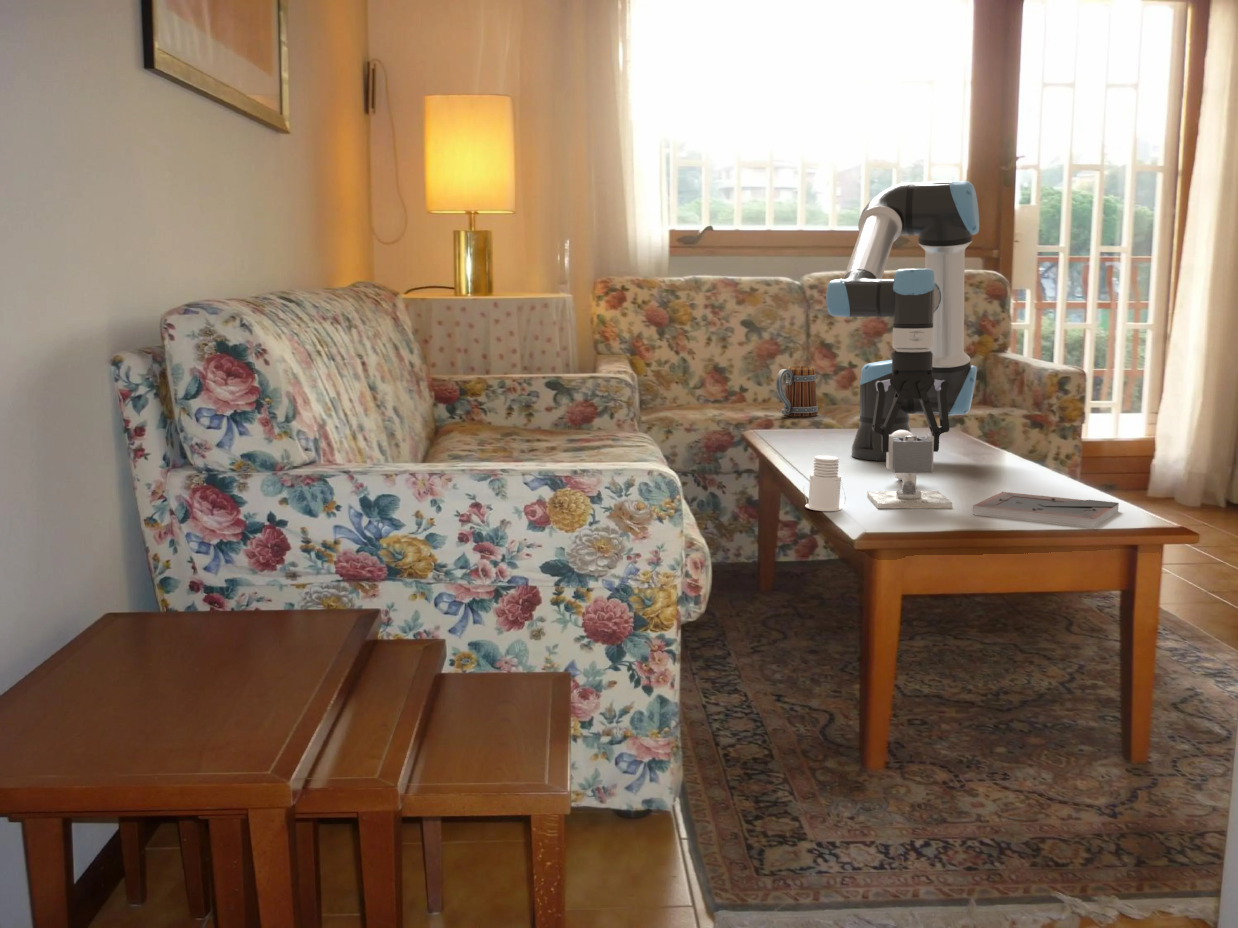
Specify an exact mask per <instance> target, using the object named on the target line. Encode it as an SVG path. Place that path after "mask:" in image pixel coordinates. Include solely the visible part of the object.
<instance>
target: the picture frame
mask: <svg viewBox="0 0 1238 928" xmlns="http://www.w3.org/2000/svg"><path fill="white" fill-rule="evenodd" d="M971 511H972V512H971V515H973V514H975V515H976V516H983V517H992V518H993V517H994V518H999V519H1000V518H1001V519H1011V520H1017V521H1018V520H1019V521H1027V522H1036V523H1043V524H1044V523H1045V524H1046V523H1047V524H1051V525H1052V524H1053V525H1062V526H1071V527H1080V528H1087V529H1095V528H1097V526H1099V525H1101V524H1102V523H1104V522H1105V521H1106V520H1108V519H1110V518H1111V517H1112V516H1114V515H1115V514H1117V513H1118V512H1119V502H1115V501H1105V500H1095V499H1079V498H1078V499H1077V498H1066V497H1060V496H1059V497H1057V496H1048V495H1039V494H1029V493H1019V492H1011V491H1010V492H1009V491H1001V492H999V493H996V494H995V495H993V496H990V497H989V498H987V499H984V500H982V501H980V502H978V503H976V504H974V505H972V508H971ZM975 515H974V516H975Z"/></svg>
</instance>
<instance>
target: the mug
mask: <svg viewBox="0 0 1238 928" xmlns="http://www.w3.org/2000/svg"><path fill="white" fill-rule="evenodd" d="M778 371H779V372H778V373H777V375H776V379H775V380H776V381H775V385H776V391H777V394H778V395H777V396H778V397H779V399H780V400H781V401H782V403H783V404H784V405H783V408H781V409H780V412H781V414H782V415H784V416H785V417H790V418H810V417H811V418H812V417H815V416H817V415H818V411H819V408H818V402H817V401H818V400H817V385H816V381H817V375H816V371H815V367H814V366H813V365H812V366H811V365H791V366H788V367H787V369H786V368H782V369H780V370H778ZM785 374H786V375H785ZM784 376H785V393H784V389H783V377H784Z"/></svg>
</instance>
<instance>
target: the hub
mask: <svg viewBox="0 0 1238 928" xmlns="http://www.w3.org/2000/svg"><path fill="white" fill-rule="evenodd" d="M891 471H892V472H893V473H894V474H895V473H916V474H919V473H920V474H921V473H922V474H930V473H931V474H932V471H933V470H932V441H930V440H929V439H927V436H917V441H903V437H893V470H891Z"/></svg>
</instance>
